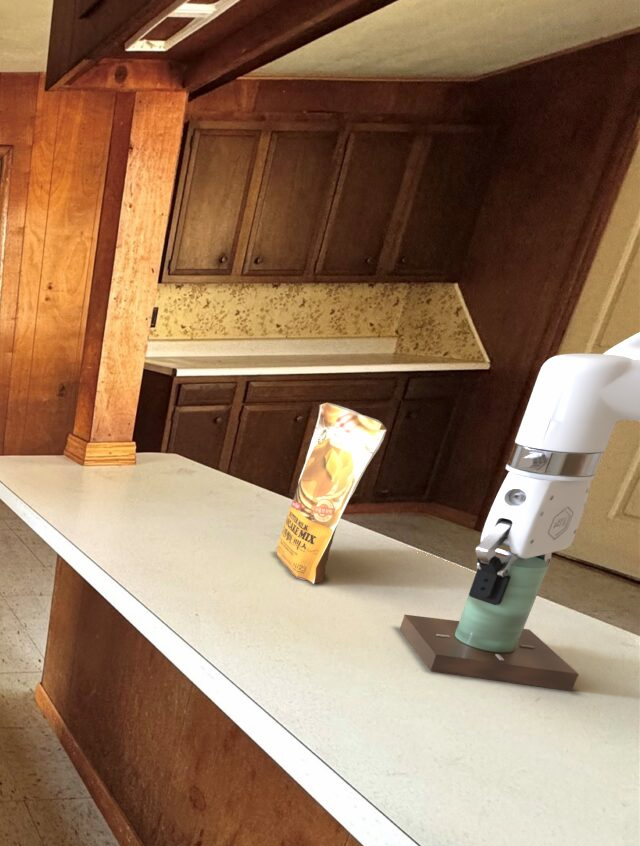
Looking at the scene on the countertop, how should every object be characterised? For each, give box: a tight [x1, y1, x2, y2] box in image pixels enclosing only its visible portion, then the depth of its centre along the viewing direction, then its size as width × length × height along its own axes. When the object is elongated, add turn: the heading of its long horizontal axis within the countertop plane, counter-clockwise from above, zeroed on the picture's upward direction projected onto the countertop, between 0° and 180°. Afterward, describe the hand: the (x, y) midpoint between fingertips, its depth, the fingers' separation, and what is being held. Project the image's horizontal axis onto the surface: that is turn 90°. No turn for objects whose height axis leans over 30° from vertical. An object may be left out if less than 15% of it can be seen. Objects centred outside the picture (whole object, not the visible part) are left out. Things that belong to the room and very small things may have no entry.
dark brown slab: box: [399, 614, 579, 692], centre depth 89 cm, size 14×12×3 cm
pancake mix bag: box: [276, 402, 388, 585], centre depth 113 cm, size 7×19×28 cm, turn 164°
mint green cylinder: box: [455, 553, 550, 653], centre depth 86 cm, size 6×6×12 cm
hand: (501, 594), depth 86 cm, fingers closed on mint green cylinder, 6 cm apart
